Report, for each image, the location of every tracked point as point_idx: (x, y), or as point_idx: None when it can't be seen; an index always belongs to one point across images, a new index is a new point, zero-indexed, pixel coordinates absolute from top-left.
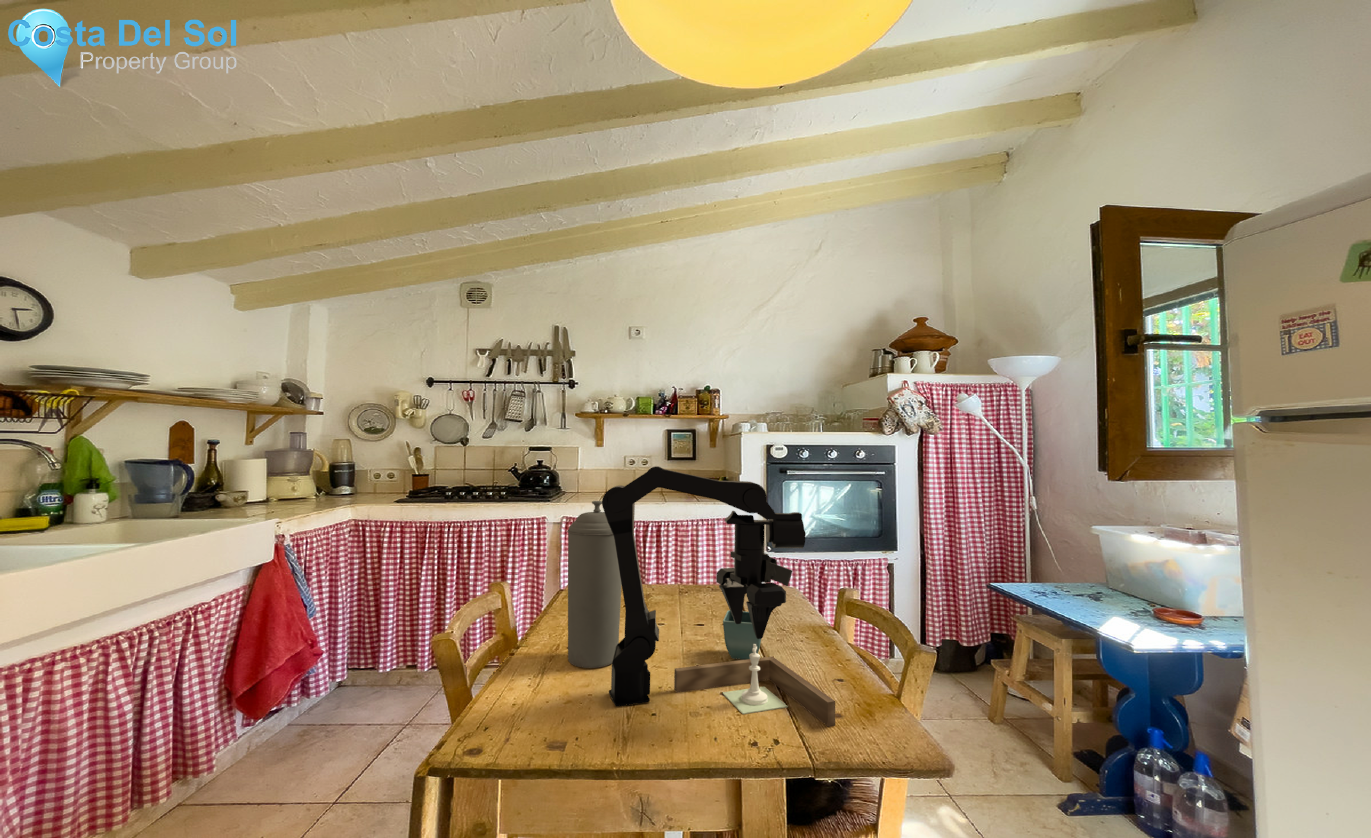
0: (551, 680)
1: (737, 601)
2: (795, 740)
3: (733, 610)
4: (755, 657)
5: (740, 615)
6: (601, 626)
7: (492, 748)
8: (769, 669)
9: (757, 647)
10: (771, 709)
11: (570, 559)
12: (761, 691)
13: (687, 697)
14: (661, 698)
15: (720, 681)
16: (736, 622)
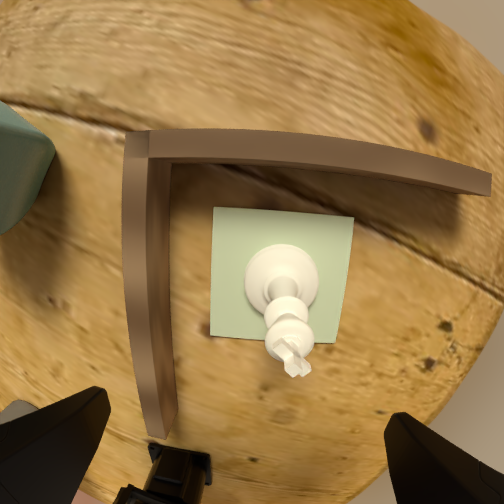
0: (108, 485)
1: (36, 490)
2: (461, 291)
3: (78, 472)
4: (311, 349)
5: (82, 420)
6: None
7: None
8: (160, 160)
9: (43, 142)
10: (347, 267)
11: None
12: (277, 259)
13: (205, 402)
14: (195, 435)
15: (166, 324)
16: (107, 415)
